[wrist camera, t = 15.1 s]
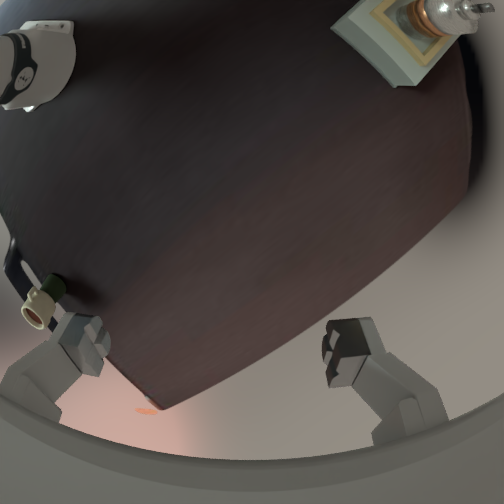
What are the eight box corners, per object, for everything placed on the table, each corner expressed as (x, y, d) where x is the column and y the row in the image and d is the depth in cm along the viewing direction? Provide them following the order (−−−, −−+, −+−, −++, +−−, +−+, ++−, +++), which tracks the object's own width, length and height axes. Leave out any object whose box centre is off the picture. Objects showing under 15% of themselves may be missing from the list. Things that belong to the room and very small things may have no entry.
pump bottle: (388, 17, 21) (465, -7, 7) (406, -1, 18) (480, -25, 5) (417, 47, 23) (500, 42, 9) (433, 27, 20) (512, 20, 7)
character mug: (42, 262, 50) (13, 296, 39) (62, 266, 51) (34, 303, 40) (54, 296, 56) (31, 331, 45) (74, 301, 56) (51, 338, 46)
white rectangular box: (329, 28, 28) (348, 14, 21) (385, -20, 21) (408, -35, 14) (393, 87, 32) (421, 89, 25) (440, 36, 25) (469, 32, 18)
